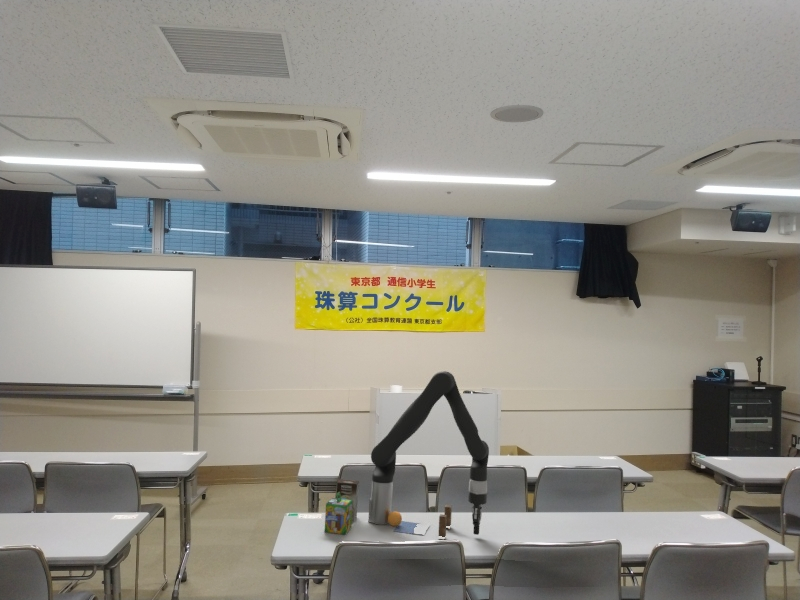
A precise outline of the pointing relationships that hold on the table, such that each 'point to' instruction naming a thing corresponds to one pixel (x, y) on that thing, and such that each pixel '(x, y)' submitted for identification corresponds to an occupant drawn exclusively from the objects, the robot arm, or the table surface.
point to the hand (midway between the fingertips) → (476, 533)
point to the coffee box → (349, 493)
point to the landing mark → (406, 527)
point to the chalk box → (338, 515)
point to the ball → (394, 518)
